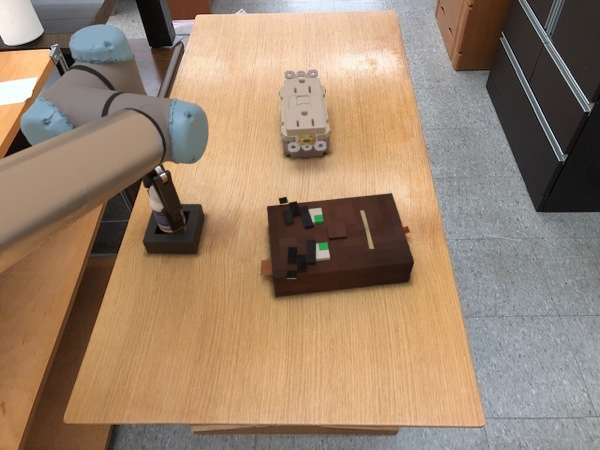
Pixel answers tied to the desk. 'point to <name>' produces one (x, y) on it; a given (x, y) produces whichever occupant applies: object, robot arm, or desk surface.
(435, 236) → the desk surface
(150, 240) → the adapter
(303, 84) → the electrical outlet
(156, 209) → the pill bottle
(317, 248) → the decorative book
